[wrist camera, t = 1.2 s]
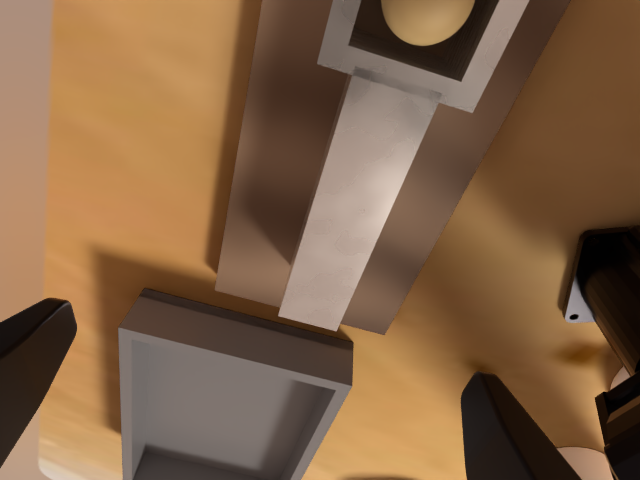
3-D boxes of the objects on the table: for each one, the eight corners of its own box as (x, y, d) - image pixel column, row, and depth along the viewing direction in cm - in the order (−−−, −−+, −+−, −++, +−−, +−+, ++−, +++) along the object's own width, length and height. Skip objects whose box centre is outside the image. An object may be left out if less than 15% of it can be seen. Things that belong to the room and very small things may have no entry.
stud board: (383, 321, 27) (387, 401, 22) (220, 277, 26) (186, 351, 21) (651, -176, 13) (822, -256, 8) (320, -307, 12) (291, -484, 7)
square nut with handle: (360, 284, 23) (359, 337, 20) (269, 259, 23) (254, 309, 20) (523, -77, 14) (574, -89, 10) (371, -132, 13) (374, -161, 10)
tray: (285, 478, 40) (279, 518, 38) (140, 445, 39) (122, 483, 36) (353, 342, 28) (352, 386, 25) (144, 288, 27) (118, 327, 24)
